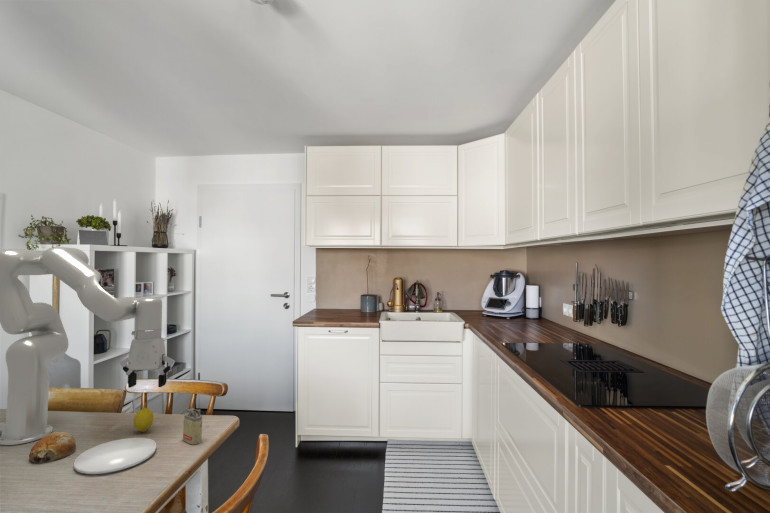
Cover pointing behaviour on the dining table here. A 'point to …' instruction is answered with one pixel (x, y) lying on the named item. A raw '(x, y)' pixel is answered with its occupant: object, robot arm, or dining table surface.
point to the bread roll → (53, 447)
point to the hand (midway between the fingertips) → (147, 386)
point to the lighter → (192, 427)
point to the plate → (114, 455)
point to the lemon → (143, 419)
